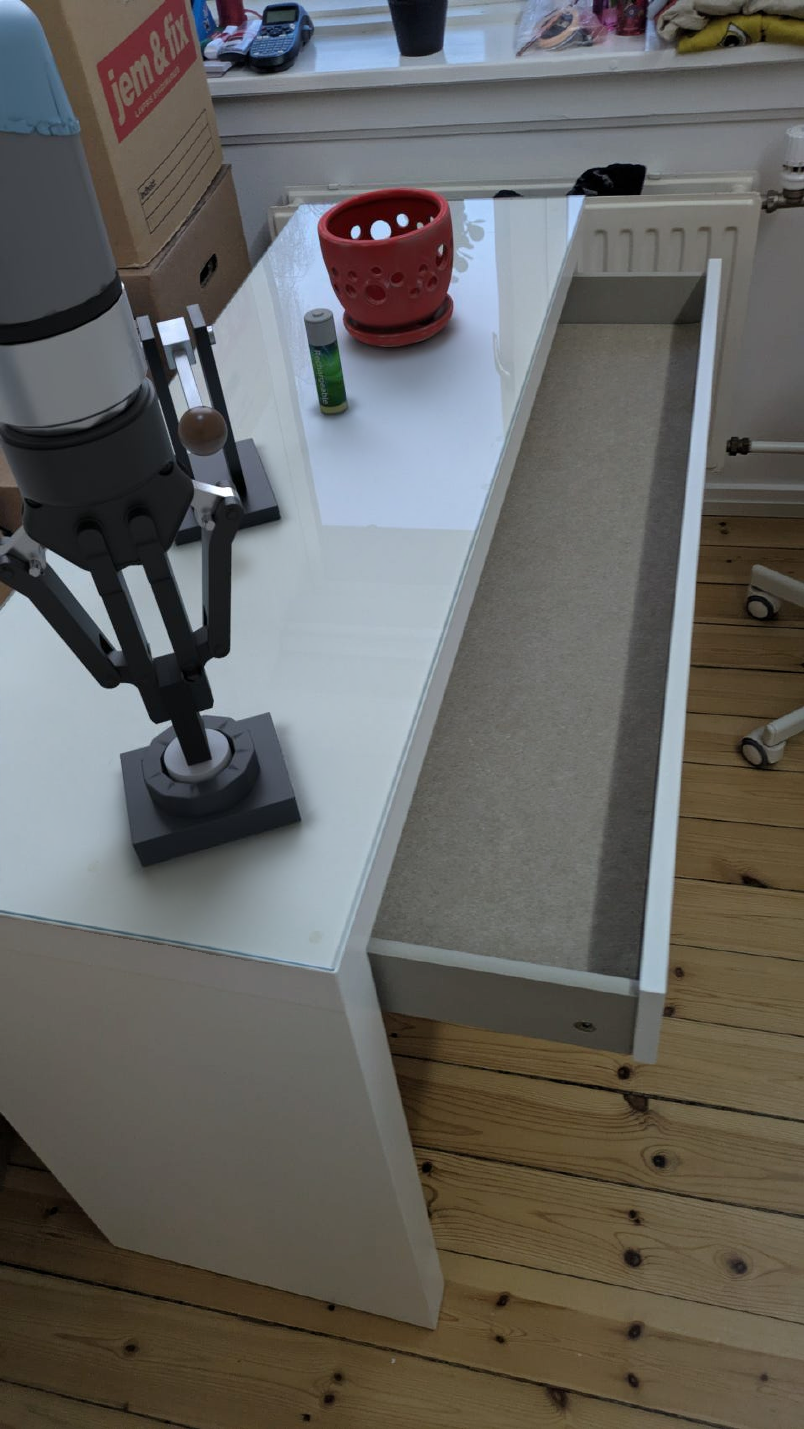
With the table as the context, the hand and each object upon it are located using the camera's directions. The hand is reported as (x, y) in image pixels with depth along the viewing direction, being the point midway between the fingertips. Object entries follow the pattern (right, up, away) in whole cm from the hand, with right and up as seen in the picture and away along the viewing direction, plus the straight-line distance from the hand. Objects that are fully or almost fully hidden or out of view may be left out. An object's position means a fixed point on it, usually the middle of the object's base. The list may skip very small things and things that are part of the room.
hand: (196, 747), depth 67 cm
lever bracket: (-4, +21, +29) cm, 36 cm away
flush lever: (-4, +26, +18) cm, 32 cm away
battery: (+6, +31, +37) cm, 49 cm away
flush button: (0, -1, +1) cm, 2 cm away
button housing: (0, -3, +3) cm, 5 cm away
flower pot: (+12, +42, +48) cm, 65 cm away
